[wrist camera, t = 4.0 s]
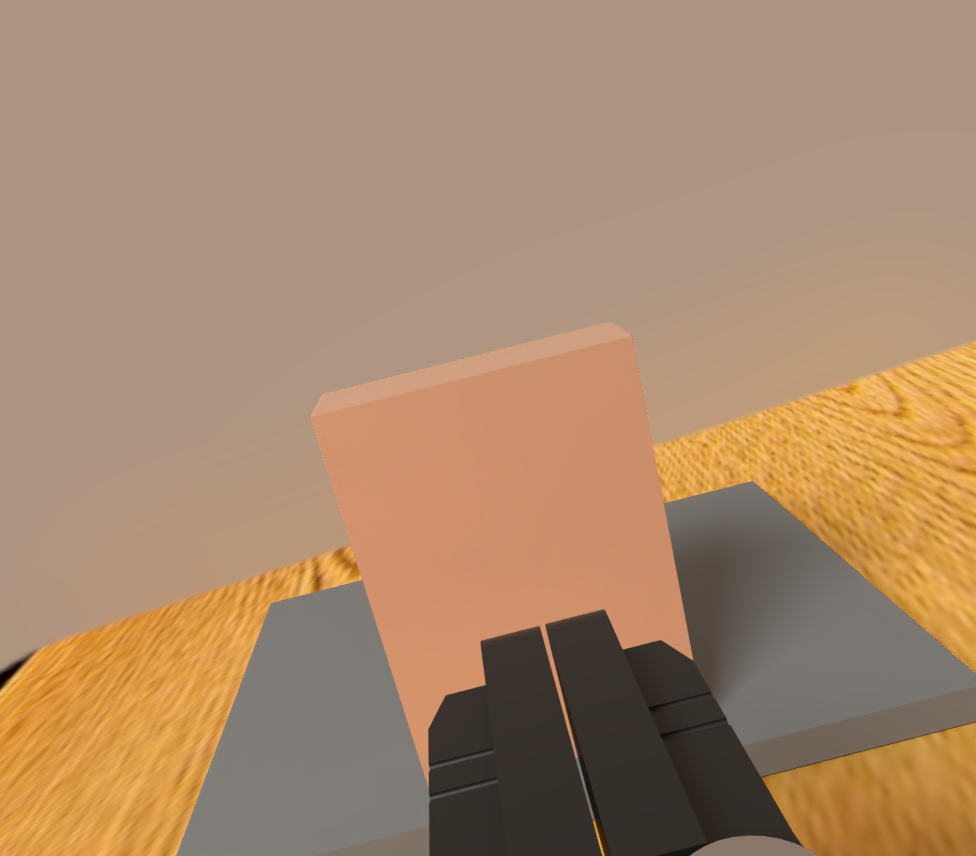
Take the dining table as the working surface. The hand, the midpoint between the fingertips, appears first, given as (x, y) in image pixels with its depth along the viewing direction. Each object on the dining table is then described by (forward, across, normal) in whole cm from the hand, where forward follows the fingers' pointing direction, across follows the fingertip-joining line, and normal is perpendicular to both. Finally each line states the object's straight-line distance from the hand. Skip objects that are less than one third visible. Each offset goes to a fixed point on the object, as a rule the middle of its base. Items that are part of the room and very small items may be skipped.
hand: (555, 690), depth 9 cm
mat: (+14, 0, +9) cm, 17 cm away
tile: (+9, 0, +8) cm, 12 cm away
